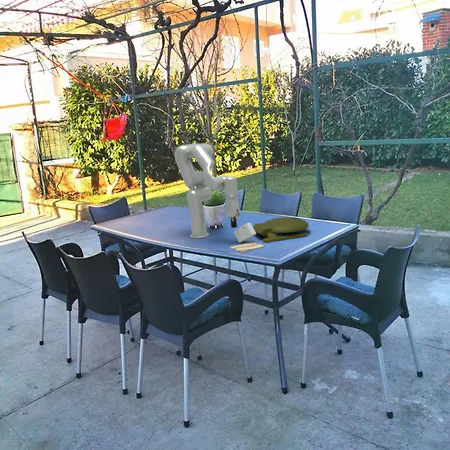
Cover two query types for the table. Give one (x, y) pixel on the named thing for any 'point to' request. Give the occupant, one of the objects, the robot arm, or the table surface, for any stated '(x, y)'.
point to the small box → (244, 232)
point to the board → (247, 246)
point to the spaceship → (281, 228)
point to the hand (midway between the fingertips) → (234, 227)
